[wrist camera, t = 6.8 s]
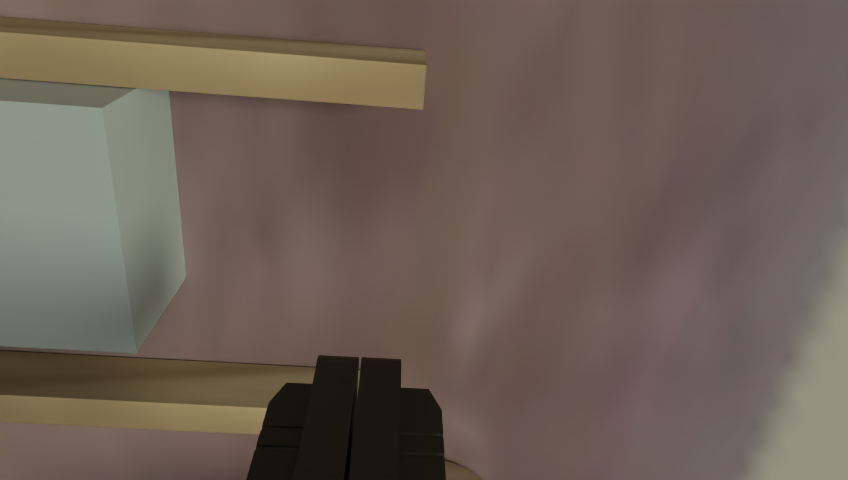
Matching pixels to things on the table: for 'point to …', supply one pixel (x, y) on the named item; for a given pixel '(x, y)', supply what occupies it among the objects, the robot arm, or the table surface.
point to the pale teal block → (86, 215)
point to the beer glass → (458, 472)
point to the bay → (201, 73)
